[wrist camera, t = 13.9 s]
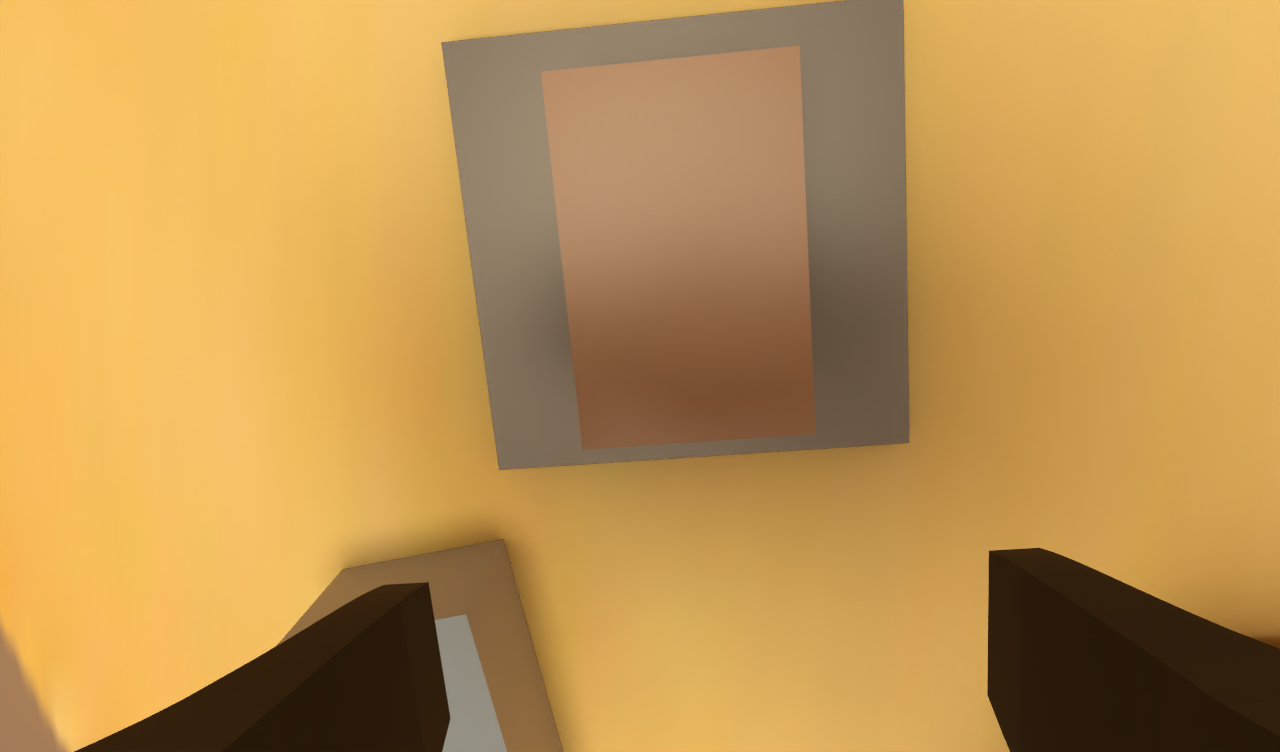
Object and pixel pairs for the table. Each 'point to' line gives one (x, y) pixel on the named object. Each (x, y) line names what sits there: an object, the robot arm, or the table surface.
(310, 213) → the table surface
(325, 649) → the robot arm
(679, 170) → the brown brick
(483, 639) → the grey brick
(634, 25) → the baseplate
